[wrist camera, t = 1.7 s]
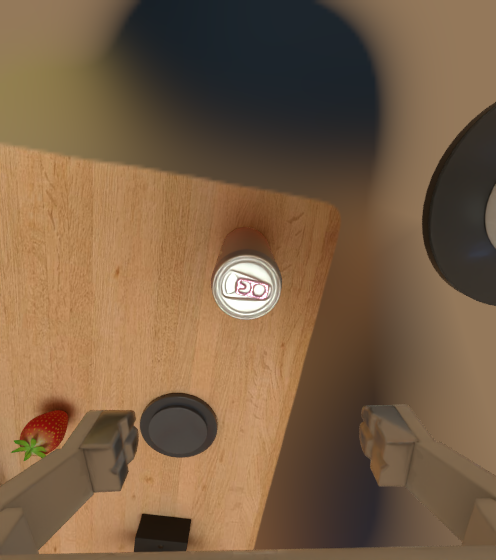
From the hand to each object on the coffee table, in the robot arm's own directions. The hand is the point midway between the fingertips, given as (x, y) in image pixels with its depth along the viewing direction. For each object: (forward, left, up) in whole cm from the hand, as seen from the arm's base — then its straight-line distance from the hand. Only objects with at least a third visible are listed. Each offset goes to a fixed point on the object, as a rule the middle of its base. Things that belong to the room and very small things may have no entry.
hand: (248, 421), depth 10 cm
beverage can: (0, 0, -29) cm, 29 cm away
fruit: (+29, +25, -29) cm, 48 cm away
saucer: (+11, +28, -29) cm, 41 cm away
